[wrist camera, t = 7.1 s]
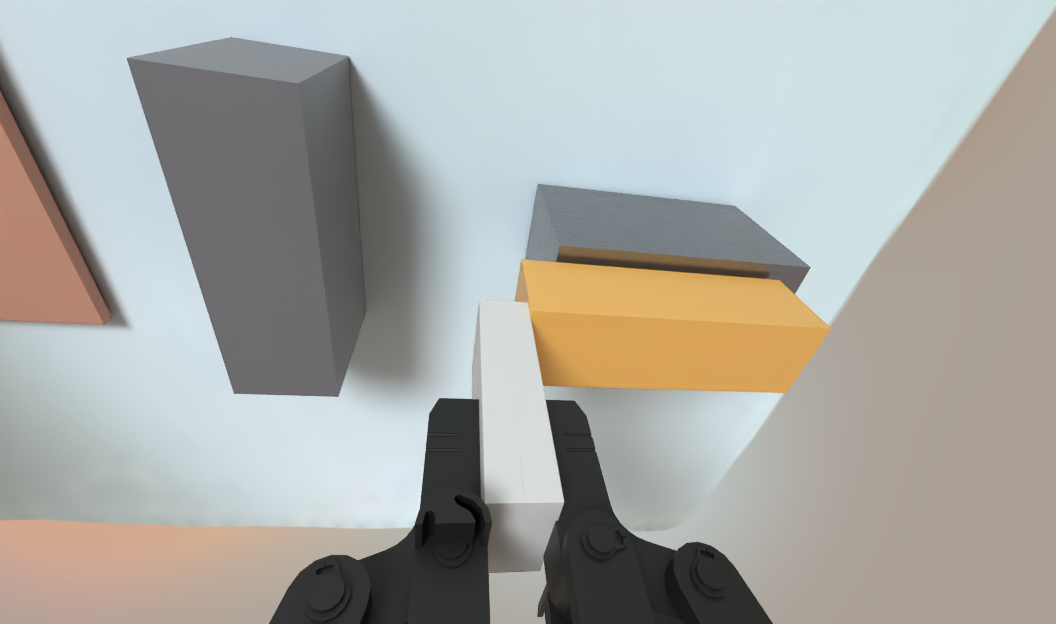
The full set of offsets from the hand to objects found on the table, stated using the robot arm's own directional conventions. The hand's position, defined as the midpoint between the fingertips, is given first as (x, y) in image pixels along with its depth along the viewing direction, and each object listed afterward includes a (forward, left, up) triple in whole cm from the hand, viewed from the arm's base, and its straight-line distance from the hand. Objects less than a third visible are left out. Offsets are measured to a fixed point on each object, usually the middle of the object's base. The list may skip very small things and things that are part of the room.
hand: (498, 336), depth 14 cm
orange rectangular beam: (+6, 0, -2) cm, 6 cm away
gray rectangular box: (+7, 0, -9) cm, 11 cm away
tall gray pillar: (-8, 0, -9) cm, 12 cm away
